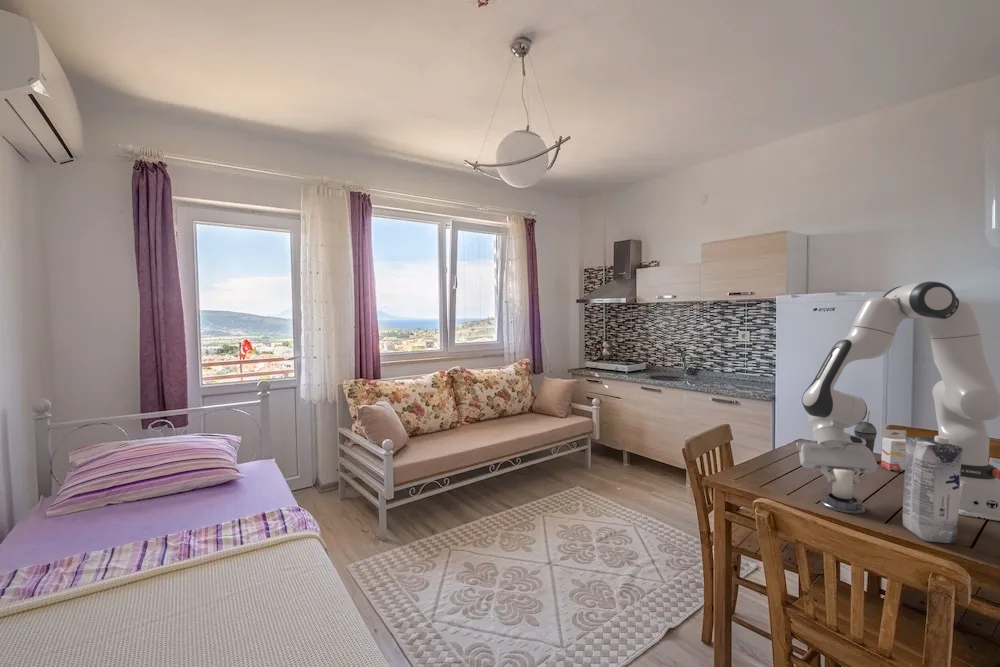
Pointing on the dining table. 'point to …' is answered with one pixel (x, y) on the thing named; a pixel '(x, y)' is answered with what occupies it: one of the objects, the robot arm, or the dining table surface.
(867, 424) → the beverage cup
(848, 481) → the plug
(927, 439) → the juice carton
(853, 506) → the holder
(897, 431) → the ink cartridge box
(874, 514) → the dining table surface
